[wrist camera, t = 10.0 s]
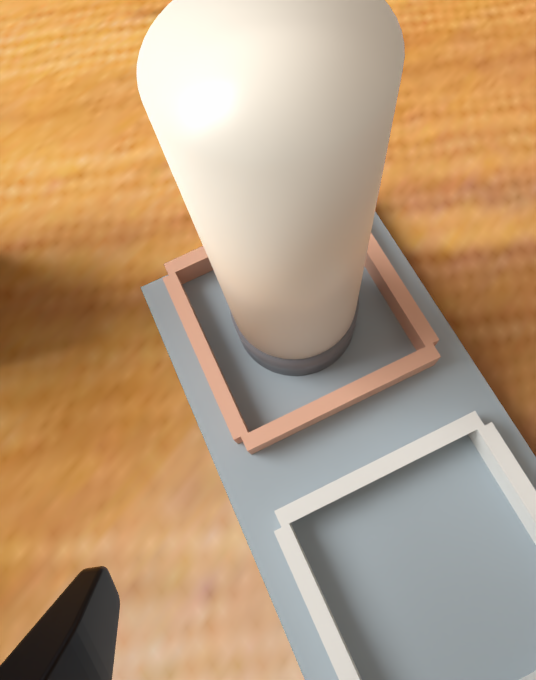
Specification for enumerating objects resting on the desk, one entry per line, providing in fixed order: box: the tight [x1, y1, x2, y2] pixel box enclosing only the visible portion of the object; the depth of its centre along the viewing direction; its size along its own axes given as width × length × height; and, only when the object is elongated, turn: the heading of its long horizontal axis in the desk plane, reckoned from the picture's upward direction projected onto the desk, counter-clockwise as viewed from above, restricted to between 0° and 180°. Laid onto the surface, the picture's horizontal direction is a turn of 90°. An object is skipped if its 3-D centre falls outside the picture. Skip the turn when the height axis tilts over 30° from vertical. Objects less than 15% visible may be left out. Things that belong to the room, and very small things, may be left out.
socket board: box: [141, 212, 536, 680], centre depth 19 cm, size 20×11×2 cm, turn 25°
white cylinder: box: [137, 0, 405, 376], centre depth 15 cm, size 5×5×13 cm
